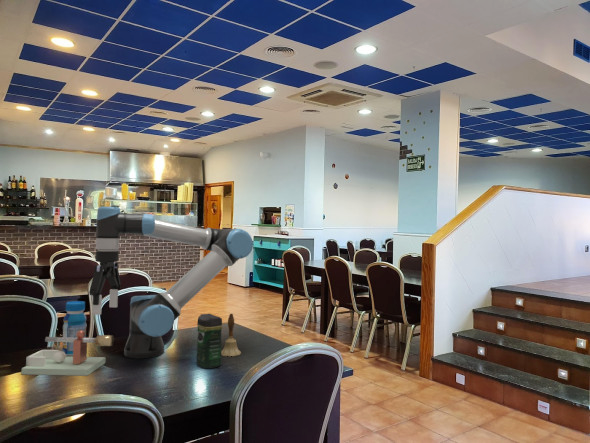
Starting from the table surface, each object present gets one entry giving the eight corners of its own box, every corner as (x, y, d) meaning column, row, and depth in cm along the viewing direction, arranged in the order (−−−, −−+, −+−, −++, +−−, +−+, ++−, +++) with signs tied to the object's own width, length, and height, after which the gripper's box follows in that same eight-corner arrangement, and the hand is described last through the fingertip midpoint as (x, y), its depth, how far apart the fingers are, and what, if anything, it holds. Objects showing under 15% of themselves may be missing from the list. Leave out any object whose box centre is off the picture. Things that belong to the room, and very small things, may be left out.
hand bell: (216, 355, 172) (217, 314, 172) (227, 349, 179) (228, 311, 180) (234, 357, 169) (235, 316, 169) (244, 352, 176) (245, 313, 177)
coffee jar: (224, 366, 157) (225, 315, 158) (204, 370, 153) (206, 317, 153) (212, 359, 165) (213, 311, 166) (193, 363, 160) (194, 313, 161)
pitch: (105, 362, 159) (105, 349, 159) (87, 375, 145) (87, 360, 145) (45, 361, 158) (45, 347, 158) (21, 374, 144) (21, 359, 144)
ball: (67, 360, 153) (68, 349, 154) (61, 364, 149) (62, 352, 150) (56, 360, 153) (56, 349, 154) (50, 364, 149) (50, 352, 150)
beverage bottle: (75, 357, 164) (77, 304, 165) (56, 355, 166) (58, 303, 166) (90, 351, 173) (92, 301, 173) (72, 349, 174) (73, 300, 175)
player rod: (114, 359, 154) (115, 329, 154) (108, 364, 149) (109, 332, 149) (49, 358, 154) (50, 327, 154) (41, 362, 149) (42, 331, 149)
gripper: (111, 248, 165) (109, 304, 164) (79, 251, 140) (77, 317, 139) (131, 249, 165) (129, 304, 164) (102, 252, 140) (100, 318, 140)
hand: (105, 310), depth 152 cm, fingers open, 13 cm apart
